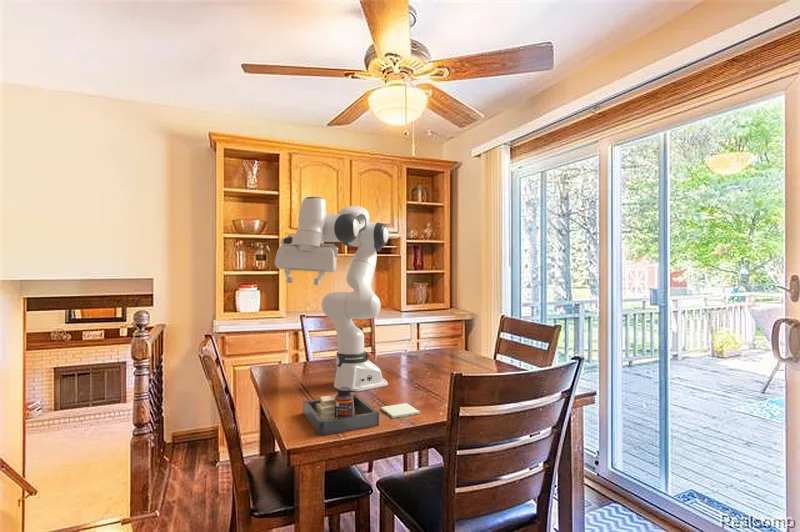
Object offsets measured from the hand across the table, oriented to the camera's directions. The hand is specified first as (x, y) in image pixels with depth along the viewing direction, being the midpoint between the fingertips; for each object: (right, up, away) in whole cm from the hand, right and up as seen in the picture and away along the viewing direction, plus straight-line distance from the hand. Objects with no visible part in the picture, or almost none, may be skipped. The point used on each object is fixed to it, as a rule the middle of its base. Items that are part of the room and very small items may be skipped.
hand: (302, 283), depth 138 cm
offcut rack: (+12, -44, +1) cm, 46 cm away
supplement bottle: (+14, -45, -3) cm, 47 cm away
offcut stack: (+10, -45, +6) cm, 46 cm away
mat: (+32, -44, +9) cm, 55 cm away
